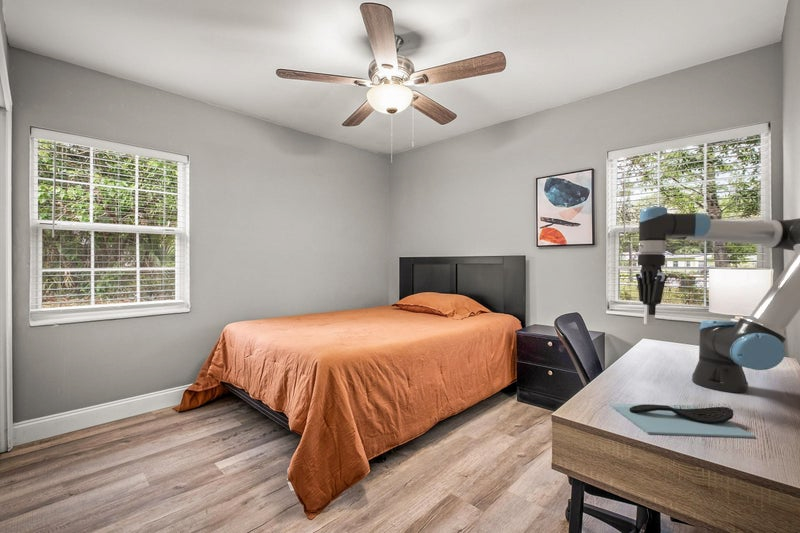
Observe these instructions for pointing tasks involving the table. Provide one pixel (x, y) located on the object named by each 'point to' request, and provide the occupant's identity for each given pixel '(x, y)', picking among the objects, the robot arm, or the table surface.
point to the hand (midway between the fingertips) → (649, 324)
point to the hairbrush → (691, 412)
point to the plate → (677, 423)
